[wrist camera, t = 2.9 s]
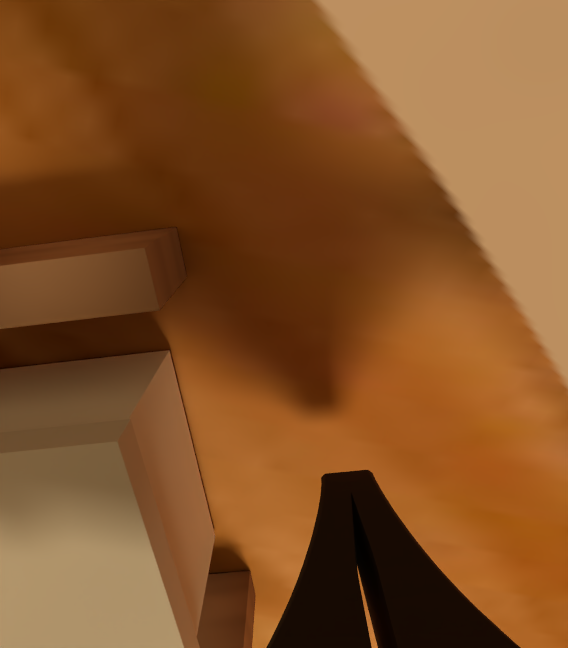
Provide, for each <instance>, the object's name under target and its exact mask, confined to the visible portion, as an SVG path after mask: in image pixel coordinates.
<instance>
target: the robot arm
mask: <svg viewBox="0 0 568 648" xmlns="http://www.w3.org/2000/svg"><path fill="white" fill-rule="evenodd" d="M321 482H322V486H321V496H320V503H319V508H318V514H317V518H316V522H315V526H314V530H313V534H312V538H311V541H310V545H309V548H308V551H307V554H306V557H305V560H304V564H303V566H302V569H301V572H300V575H299V577H298V580H297V583H296V585H295V588H294V590H293V593H292V595H291V597H290V600H289V602H288V604H287V607H286V609H285V611H284V613H283V615H282V617H281V620H280V622H279V624H278V626H277V628H276V630H275V632H274V634H273V636H272V638H271V640H270V642H269V644H268V646H267V647H266V648H372V647H371V642H370V637H369V632H368V627H367V621H366V616H365V611H364V606H363V600H362V595H361V590H360V584H359V579H358V571H357V566H358V570H359V574H360V578H361V582H362V586H363V590H364V594H365V598H366V602H367V606H368V610H369V613H370V617H371V621H372V625H373V629H374V633H375V637H376V641H377V645H378V648H520V647H519V646H518V645H517V644H516V643H514V642H513V641H512V640H511V639H510V638H509V637H508V636H507V635H506V634H504V633H503V632H502V631H501V630H500V629H499V628H498V627H497V626H496V625H495V624H494V623H493V622H491V621H490V620H489V619H488V618H487V617H486V616H485V615H484V614H483V613H482V612H481V611H479V610H478V609H477V608H476V607H475V606H474V605H473V604H472V603H471V602H470V601H469V600H468V599H467V598H466V597H465V596H464V595H463V594H462V593H461V592H460V591H459V590H458V588H457V587H456V586H455V585H454V584H453V583H452V582H451V581H450V580H449V579H448V578H447V577H446V576H445V574H444V573H443V572H442V571H441V570H440V569H439V568H438V567H437V565H436V564H435V563H434V562H433V561H432V560H431V558H430V557H429V556H428V555H427V554H426V552H425V551H424V550H423V549H422V547H421V546H420V545H419V544H418V542H417V541H416V540H415V539H414V537H413V536H412V535H411V533H410V532H409V531H408V529H407V528H406V526H405V525H404V524H403V522H402V521H401V520H400V518H399V517H398V515H397V514H396V513H395V511H394V510H393V508H392V507H391V505H390V503H389V502H388V500H387V499H386V497H385V496H384V494H383V492H382V491H381V489H380V487H379V485H378V484H377V482H376V480H375V478H374V476H373V474H372V472H370V471H369V470H360V471H350V472H339V473H329V474H324V475H323V476H322V477H321Z"/></svg>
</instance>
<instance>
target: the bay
mask: <svg viewBox="0 0 568 648" xmlns="http://www.w3.org/2000/svg"><path fill="white" fill-rule="evenodd" d="M186 277H187V274H186V270H185V265H184V260H183V256H182V251H181V246H180V242H179V237H178V232H177V228H176V227H172V228H164V229H156V230H148V231H140V232H132V233H124V234H117V235H109V236H101V237H93V238H85V239H77V240H69V241H61V242H54V243H46V244H38V245H30V246H22V247H14V248H6V249H0V329H5V328H14V327H22V326H31V325H39V324H48V323H56V322H65V321H73V320H82V319H90V318H99V317H107V316H116V315H124V314H133V313H141V312H150V311H158V310H160V309H161V308H162V307H163V306H164V305H165V303H166V302H167V301H168V300H169V298H170V297H171V296H172V295H173V293H174V292H175V291H176V290H177V289H178V287H179V286H180V285H181V284H182V282H183V281H184V280H185V279H186ZM254 609H255V592H254V587H253V583H252V578H251V573H250V571H241V572H229V573H218V574H208V578H207V583H206V589H205V594H204V599H203V605H202V610H201V616H200V621H199V626H198V632H197V640H198V643H199V647H200V648H252V638H253V623H254Z"/></svg>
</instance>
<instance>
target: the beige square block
mask: <svg viewBox="0 0 568 648" xmlns="http://www.w3.org/2000/svg"><path fill="white" fill-rule="evenodd" d="M214 540H215V534H214V529H213V525H212V521H211V517H210V513H209V509H208V505H207V501H206V497H205V493H204V489H203V485H202V481H201V477H200V473H199V468H198V464H197V460H196V456H195V452H194V448H193V444H192V440H191V436H190V432H189V428H188V424H187V420H186V416H185V411H184V407H183V403H182V399H181V395H180V391H179V387H178V383H177V379H176V375H175V371H174V367H173V363H172V359H171V355H170V350H167V351H158V352H149V353H140V354H131V355H122V356H113V357H104V358H96V359H87V360H78V361H69V362H60V363H51V364H42V365H33V366H25V367H16V368H7V369H0V648H200V647H199V643H198V640H197V632H198V626H199V621H200V616H201V610H202V605H203V599H204V594H205V589H206V583H207V578H208V572H209V567H210V562H211V556H212V551H213V545H214Z"/></svg>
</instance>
